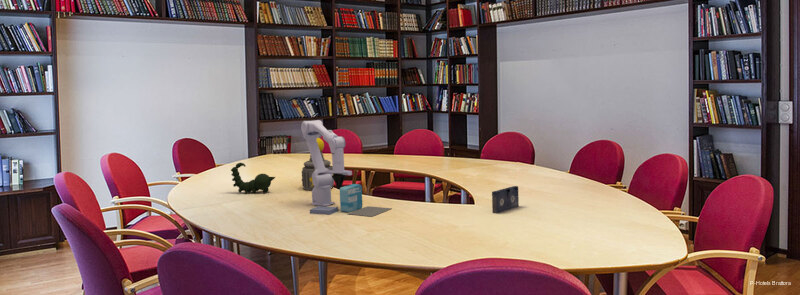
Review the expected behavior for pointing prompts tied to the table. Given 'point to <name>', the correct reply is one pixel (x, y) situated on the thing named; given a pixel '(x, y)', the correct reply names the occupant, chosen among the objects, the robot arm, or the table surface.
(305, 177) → the decorative lamp
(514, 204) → the vhs cassette tape
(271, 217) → the table surface
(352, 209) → the teal flat block
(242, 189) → the toy figurine
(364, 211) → the mat
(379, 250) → the table surface
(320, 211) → the book
